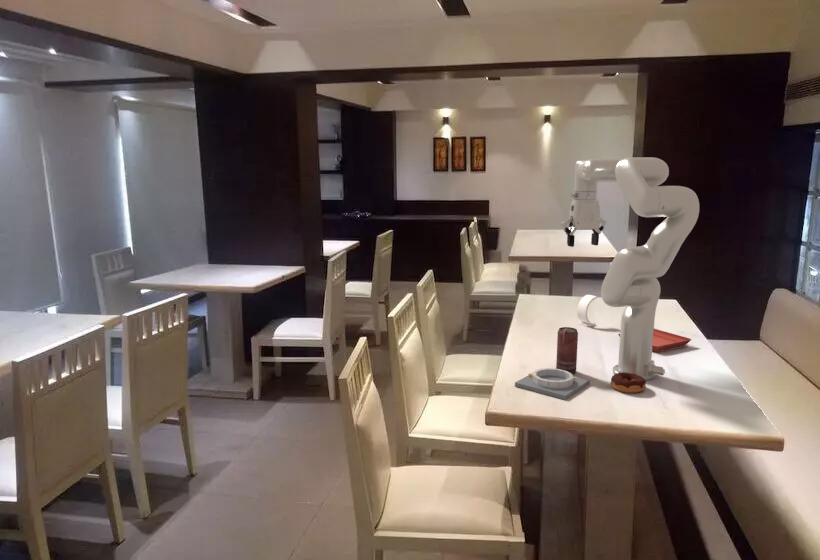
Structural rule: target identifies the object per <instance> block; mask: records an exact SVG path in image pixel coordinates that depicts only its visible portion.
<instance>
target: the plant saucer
mask: <svg viewBox="0 0 820 560" xmlns="http://www.w3.org/2000/svg"><path fill="white" fill-rule="evenodd" d="M617 335H618V337H619V338H620V333H618V334H617ZM691 341H692V339H691V338H689V337H686V336H682V335H679V334H676V333H672V332H668V331H664V330H661V329H657V328H654V332H653V345H652V352H655V353H660V352H664V351H669V350H673V349H678V348H682V347H683V348H684V347H685V346H686V345H687V344H689V343H690V342H691Z"/></svg>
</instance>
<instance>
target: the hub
mask: <svg viewBox="0 0 820 560" xmlns="http://www.w3.org/2000/svg"><path fill="white" fill-rule="evenodd" d="M590 381H591V380H590V379H586V378H583V377H578V376H576V375H575V376H574V374H571V373H569V372H568V371H565V370H561V369H556V368H553V367H546V368H545V367H544V368H538V369H535V370H534V371H532V372H529V373H528V374H527V375H526V376H524V377H523V378H520V379H519V380H517V381H515V382H514V387H516V388H520V389H523V390H527V391H530V392H535V393H538V394H542V395H545V396H550V397H553V398H557V399H561V400H563V401H564V400H565V401H566V400H568V399H569V398H570V397H572V396H574V395H575V394H576V393H578V392H579V391H580V390H582V389H584V388H585V387H587V386H588V385H590Z"/></svg>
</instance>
